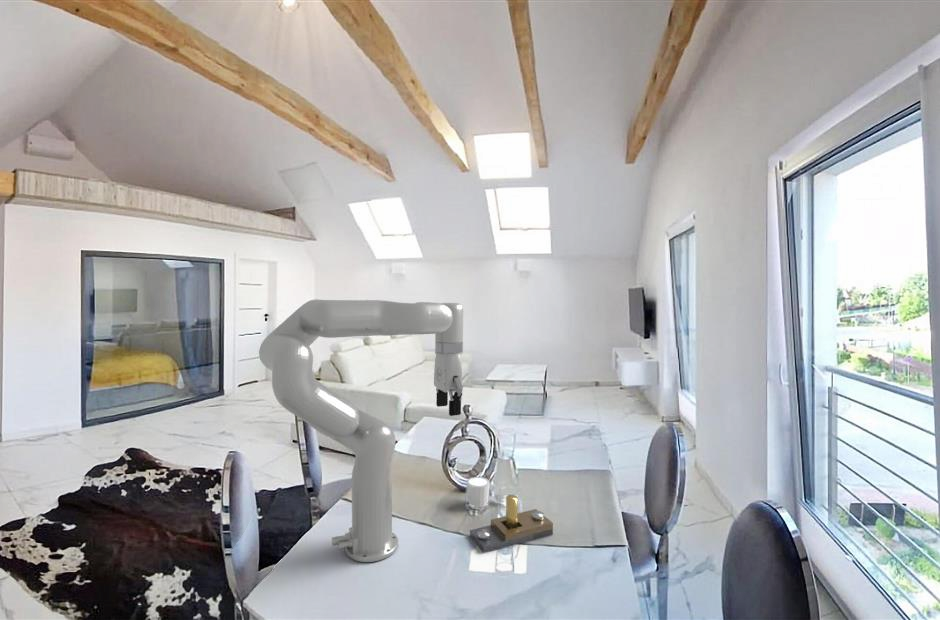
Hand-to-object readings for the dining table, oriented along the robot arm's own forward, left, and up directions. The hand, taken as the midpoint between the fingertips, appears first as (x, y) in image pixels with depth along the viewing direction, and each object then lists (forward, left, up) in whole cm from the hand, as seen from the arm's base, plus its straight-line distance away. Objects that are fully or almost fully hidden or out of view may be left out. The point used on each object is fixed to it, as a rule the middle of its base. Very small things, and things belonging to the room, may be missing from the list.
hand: (448, 410), depth 122 cm
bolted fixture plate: (+12, -15, -30) cm, 36 cm away
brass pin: (+12, -15, -30) cm, 36 cm away
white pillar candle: (+11, +3, -30) cm, 32 cm away
